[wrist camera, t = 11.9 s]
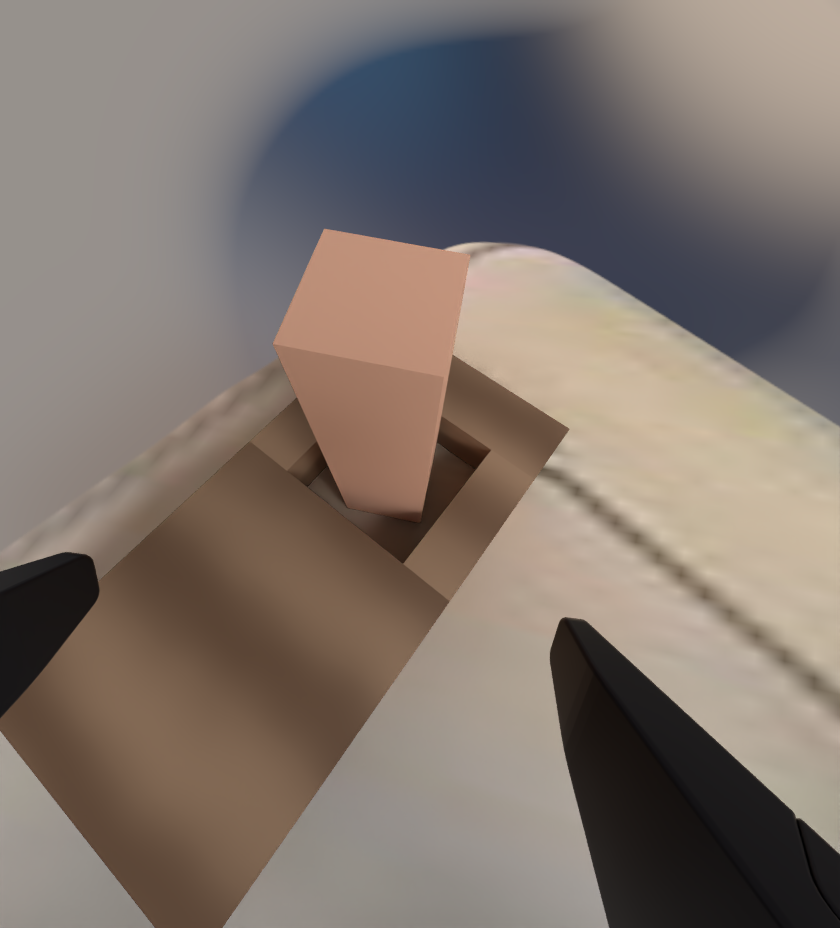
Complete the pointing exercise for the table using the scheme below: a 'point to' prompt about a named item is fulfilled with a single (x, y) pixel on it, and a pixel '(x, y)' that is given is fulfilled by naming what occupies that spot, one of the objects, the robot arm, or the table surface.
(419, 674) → the table surface
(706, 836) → the robot arm
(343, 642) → the wooden peg hole board
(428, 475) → the terracotta peg block
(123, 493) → the table surface
